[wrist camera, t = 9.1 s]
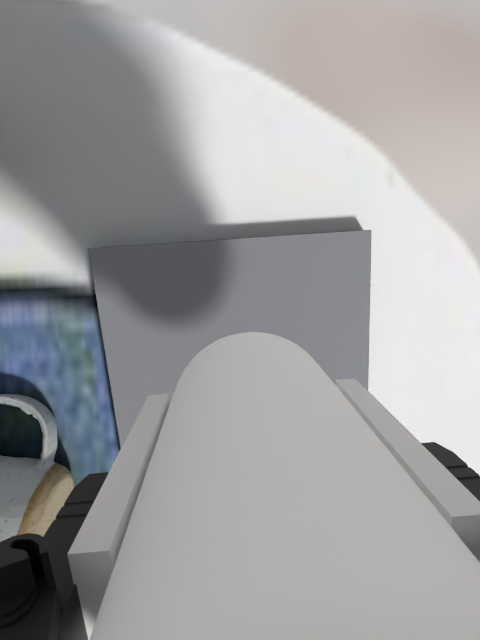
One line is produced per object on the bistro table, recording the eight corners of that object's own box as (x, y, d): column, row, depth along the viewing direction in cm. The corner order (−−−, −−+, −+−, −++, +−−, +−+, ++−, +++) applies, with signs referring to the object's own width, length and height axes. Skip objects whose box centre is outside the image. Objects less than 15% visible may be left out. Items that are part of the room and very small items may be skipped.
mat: (128, 459, 22) (124, 469, 21) (95, 248, 19) (88, 248, 18) (360, 438, 23) (366, 447, 22) (363, 230, 20) (371, 229, 19)
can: (208, 487, 15) (150, 1400, 3) (150, 361, 13) (-368, 1157, 2) (343, 439, 15) (829, 1212, 3) (298, 305, 13) (901, 764, 1)
